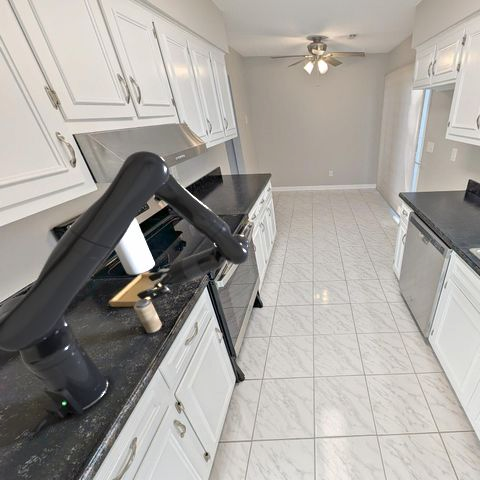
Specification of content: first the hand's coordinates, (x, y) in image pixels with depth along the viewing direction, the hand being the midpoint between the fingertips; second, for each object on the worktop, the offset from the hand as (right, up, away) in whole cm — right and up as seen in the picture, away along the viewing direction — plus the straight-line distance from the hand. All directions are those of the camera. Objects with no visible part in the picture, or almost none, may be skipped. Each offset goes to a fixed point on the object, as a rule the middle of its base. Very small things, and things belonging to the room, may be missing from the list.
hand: (145, 287), depth 81 cm
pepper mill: (-3, -16, +10) cm, 19 cm away
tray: (-21, -7, +30) cm, 37 cm away
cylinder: (-34, +1, +47) cm, 58 cm away
